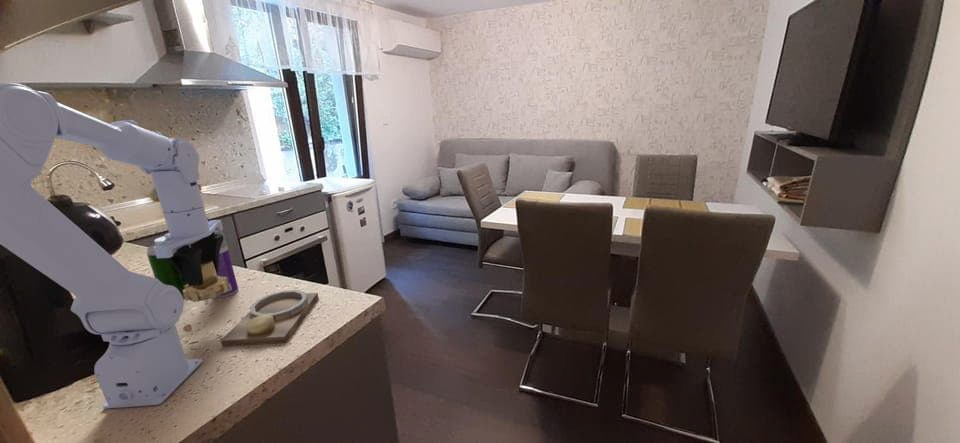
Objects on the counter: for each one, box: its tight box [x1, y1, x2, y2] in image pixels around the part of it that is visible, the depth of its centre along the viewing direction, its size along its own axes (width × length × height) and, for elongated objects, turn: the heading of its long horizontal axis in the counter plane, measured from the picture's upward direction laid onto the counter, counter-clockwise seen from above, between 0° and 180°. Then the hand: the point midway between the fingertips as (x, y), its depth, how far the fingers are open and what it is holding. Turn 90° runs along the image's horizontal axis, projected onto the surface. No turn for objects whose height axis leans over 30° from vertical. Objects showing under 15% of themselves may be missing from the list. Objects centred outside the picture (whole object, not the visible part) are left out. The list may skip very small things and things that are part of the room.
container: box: [214, 229, 239, 299], centre depth 82 cm, size 5×5×15 cm
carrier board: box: [220, 289, 319, 347], centre depth 73 cm, size 16×11×3 cm
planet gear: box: [183, 260, 229, 303], centre depth 69 cm, size 7×7×6 cm
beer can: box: [146, 244, 188, 298], centre depth 82 cm, size 5×5×12 cm
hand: (204, 278), depth 69 cm, fingers closed on planet gear, 4 cm apart
